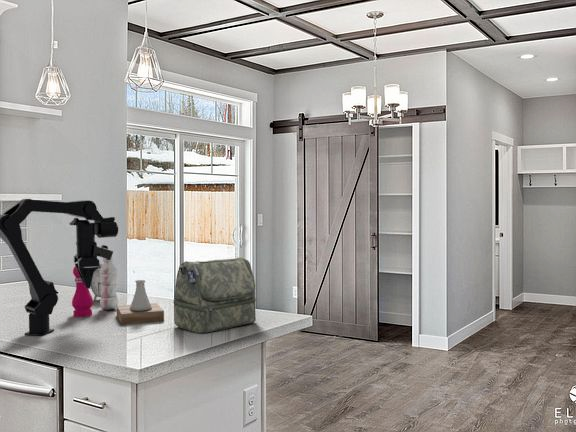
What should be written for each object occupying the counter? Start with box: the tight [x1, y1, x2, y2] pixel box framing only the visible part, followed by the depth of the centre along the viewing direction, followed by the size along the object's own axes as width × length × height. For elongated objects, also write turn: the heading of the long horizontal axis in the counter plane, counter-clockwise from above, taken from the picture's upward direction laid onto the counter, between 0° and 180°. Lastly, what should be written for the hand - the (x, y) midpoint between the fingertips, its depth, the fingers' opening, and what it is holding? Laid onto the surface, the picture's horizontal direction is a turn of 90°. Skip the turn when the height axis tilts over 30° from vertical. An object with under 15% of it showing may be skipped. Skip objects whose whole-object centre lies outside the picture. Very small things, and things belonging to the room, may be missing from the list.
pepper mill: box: [71, 265, 94, 318], centre depth 220 cm, size 7×7×20 cm
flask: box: [130, 279, 152, 311], centre depth 211 cm, size 7×7×10 cm
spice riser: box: [116, 302, 165, 325], centre depth 213 cm, size 16×14×4 cm
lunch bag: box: [173, 257, 257, 334], centre depth 200 cm, size 26×18×22 cm
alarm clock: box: [90, 262, 103, 300], centre depth 253 cm, size 12×7×15 cm, turn 49°
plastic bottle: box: [99, 255, 119, 311], centre depth 230 cm, size 6×7×20 cm
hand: (86, 286), depth 202 cm, fingers open, 9 cm apart
